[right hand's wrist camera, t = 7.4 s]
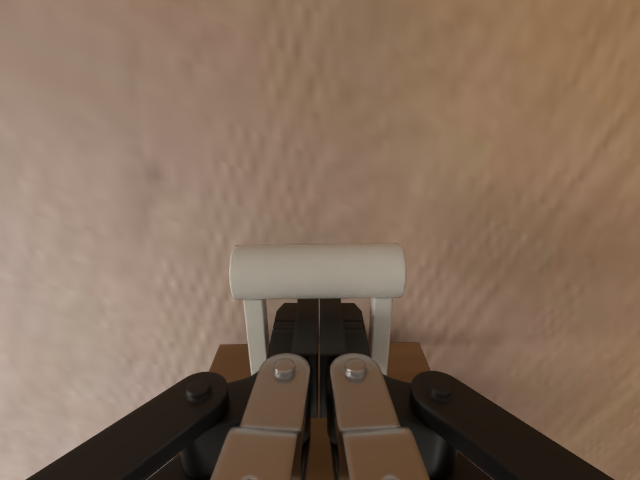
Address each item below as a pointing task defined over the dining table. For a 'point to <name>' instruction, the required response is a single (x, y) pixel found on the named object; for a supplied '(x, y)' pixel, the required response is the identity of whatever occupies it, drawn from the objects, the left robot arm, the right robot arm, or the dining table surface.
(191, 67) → the dining table surface
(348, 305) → the right robot arm
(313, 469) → the drawer
